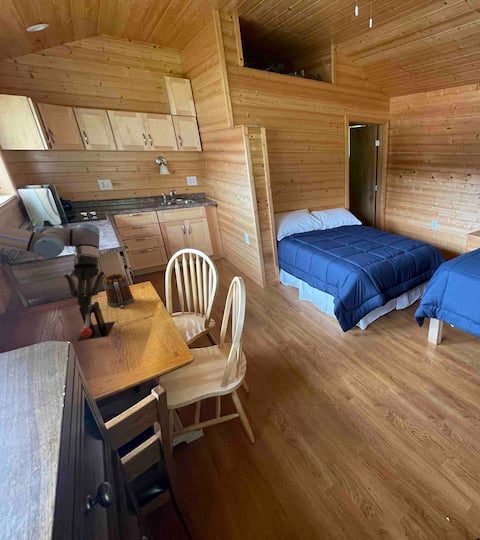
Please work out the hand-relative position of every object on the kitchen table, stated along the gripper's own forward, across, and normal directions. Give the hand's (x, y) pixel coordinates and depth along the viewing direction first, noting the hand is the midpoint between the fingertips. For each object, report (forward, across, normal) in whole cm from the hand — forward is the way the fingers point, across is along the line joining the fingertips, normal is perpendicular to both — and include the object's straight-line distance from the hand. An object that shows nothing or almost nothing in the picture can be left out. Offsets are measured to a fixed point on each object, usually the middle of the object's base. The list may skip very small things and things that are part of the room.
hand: (83, 312), depth 118 cm
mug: (-11, -4, -30) cm, 32 cm away
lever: (+3, 0, -5) cm, 6 cm away
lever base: (+5, 0, -14) cm, 15 cm away
